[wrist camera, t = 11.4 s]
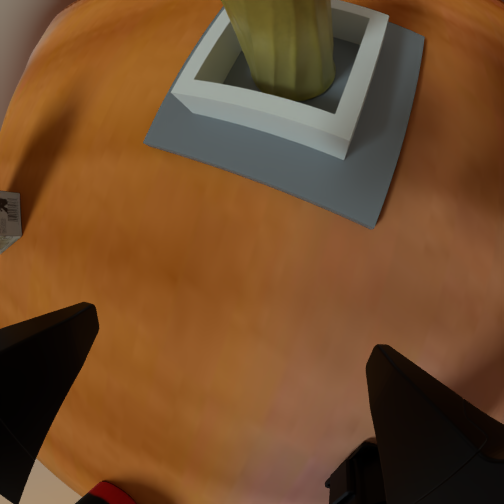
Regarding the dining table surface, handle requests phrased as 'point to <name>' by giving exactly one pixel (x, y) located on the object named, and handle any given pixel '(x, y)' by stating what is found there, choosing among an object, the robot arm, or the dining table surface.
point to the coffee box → (9, 219)
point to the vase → (286, 45)
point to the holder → (300, 115)
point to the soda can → (106, 495)
